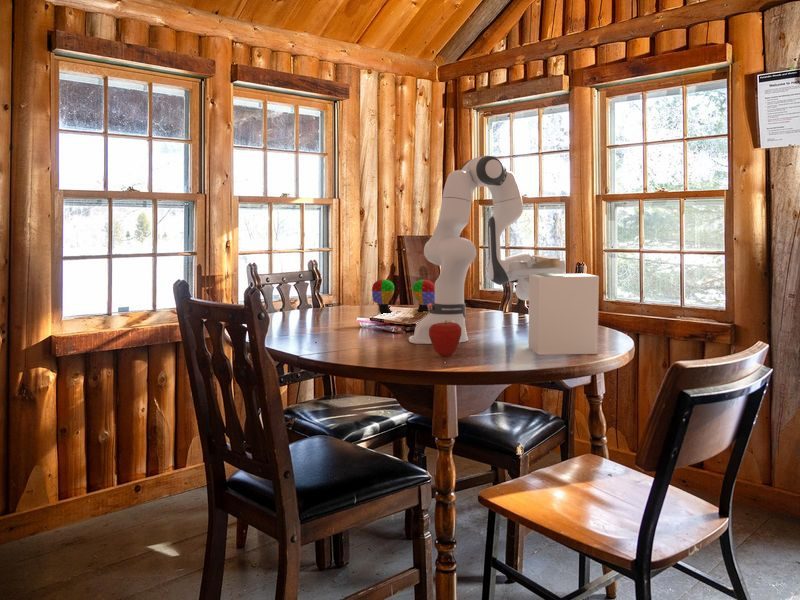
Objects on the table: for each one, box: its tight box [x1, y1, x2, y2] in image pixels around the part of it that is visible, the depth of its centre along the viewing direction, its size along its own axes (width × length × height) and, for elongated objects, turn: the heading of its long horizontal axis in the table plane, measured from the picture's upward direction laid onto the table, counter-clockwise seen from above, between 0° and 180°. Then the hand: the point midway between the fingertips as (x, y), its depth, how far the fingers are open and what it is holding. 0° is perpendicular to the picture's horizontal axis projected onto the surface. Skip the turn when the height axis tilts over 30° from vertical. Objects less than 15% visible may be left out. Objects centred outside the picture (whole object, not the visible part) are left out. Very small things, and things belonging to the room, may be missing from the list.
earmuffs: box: [371, 278, 435, 315], centre depth 302 cm, size 28×9×20 cm, turn 78°
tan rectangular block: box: [531, 254, 561, 268], centre depth 238 cm, size 4×24×3 cm, turn 3°
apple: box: [429, 321, 461, 358], centre depth 228 cm, size 11×11×12 cm
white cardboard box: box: [528, 273, 600, 356], centre depth 235 cm, size 20×14×26 cm
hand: (541, 259), depth 243 cm, fingers closed on tan rectangular block, 3 cm apart
